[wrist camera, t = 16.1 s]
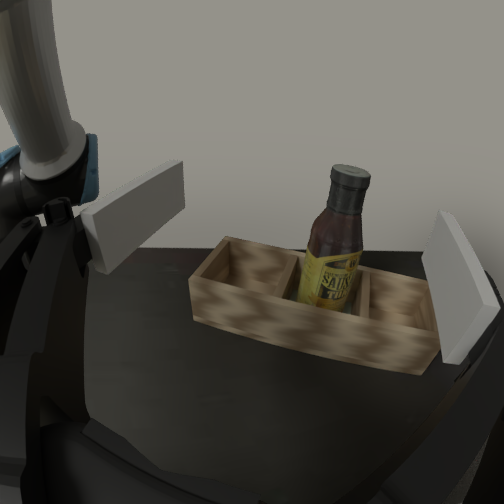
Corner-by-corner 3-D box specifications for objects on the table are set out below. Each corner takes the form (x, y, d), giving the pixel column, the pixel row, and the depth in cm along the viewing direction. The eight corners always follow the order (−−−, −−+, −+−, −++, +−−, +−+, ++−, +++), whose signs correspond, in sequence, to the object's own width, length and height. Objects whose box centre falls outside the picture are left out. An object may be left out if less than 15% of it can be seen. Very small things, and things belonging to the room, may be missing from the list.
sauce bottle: (310, 341, 34) (346, 183, 23) (284, 309, 38) (303, 161, 27) (349, 323, 36) (392, 179, 25) (322, 295, 41) (350, 159, 30)
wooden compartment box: (193, 320, 38) (188, 279, 34) (226, 273, 46) (225, 235, 42) (420, 375, 30) (446, 340, 26) (416, 317, 38) (433, 282, 34)
